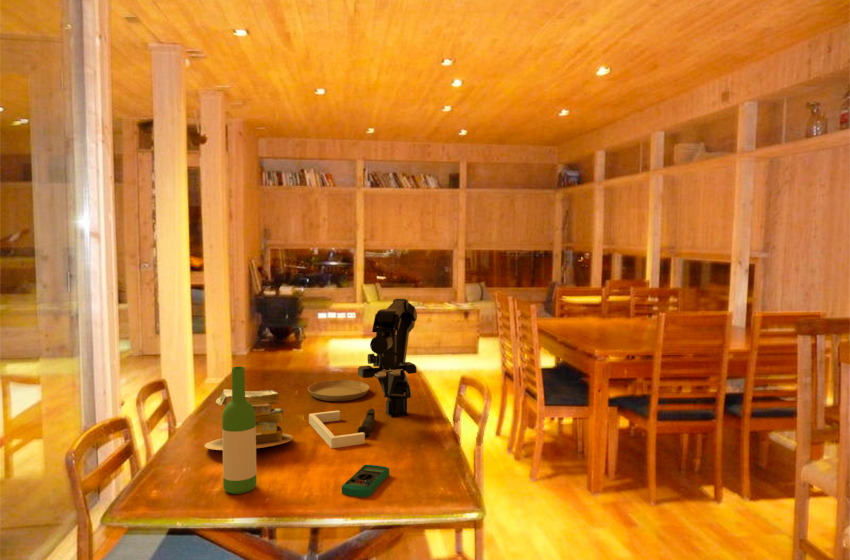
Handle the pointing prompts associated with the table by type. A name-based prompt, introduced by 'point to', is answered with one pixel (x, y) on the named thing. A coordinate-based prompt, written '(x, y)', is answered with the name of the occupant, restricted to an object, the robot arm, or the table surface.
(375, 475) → the digital multimeter
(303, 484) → the table surface
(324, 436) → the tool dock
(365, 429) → the hand tool
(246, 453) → the wine bottle
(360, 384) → the plant saucer
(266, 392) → the plate of stacked boxes
